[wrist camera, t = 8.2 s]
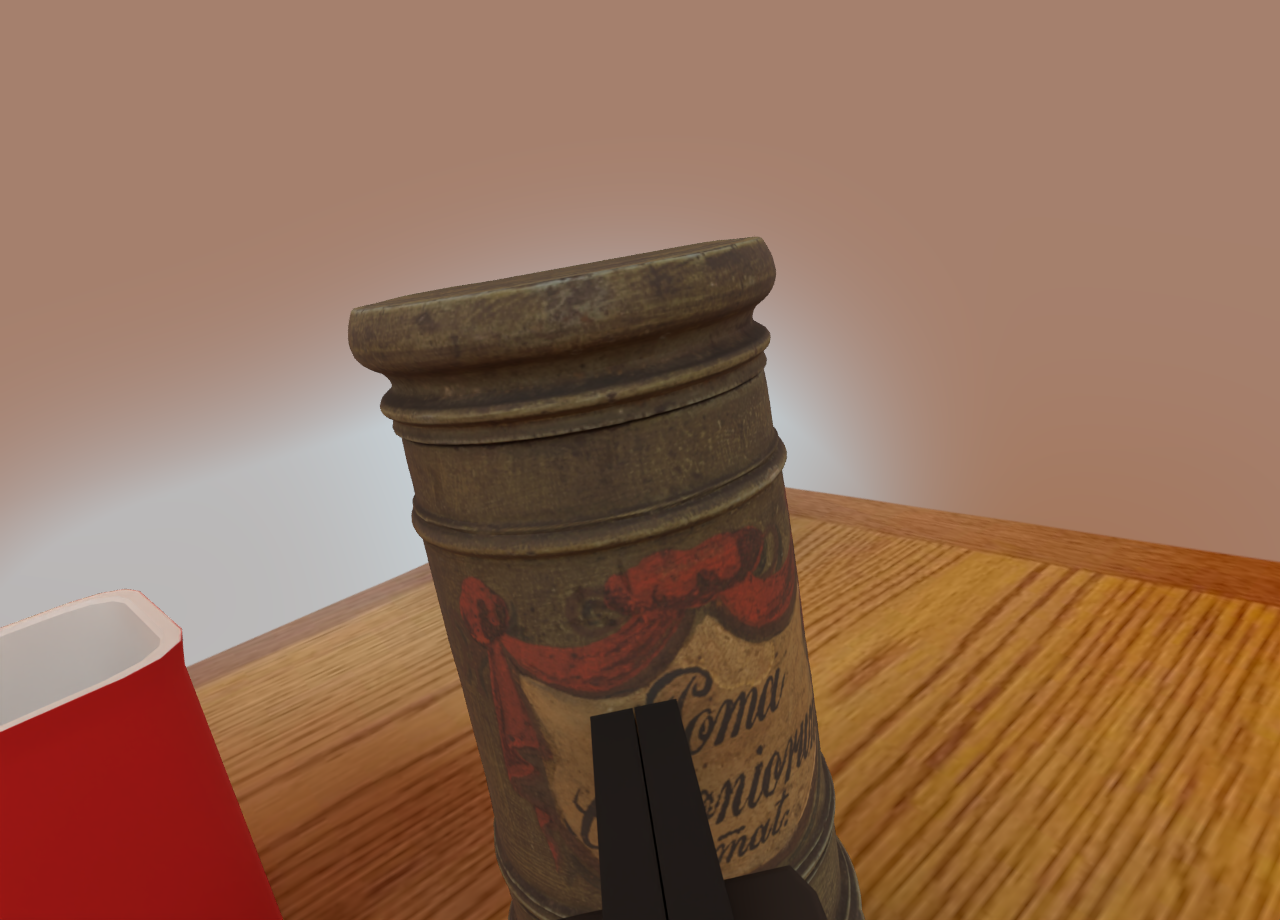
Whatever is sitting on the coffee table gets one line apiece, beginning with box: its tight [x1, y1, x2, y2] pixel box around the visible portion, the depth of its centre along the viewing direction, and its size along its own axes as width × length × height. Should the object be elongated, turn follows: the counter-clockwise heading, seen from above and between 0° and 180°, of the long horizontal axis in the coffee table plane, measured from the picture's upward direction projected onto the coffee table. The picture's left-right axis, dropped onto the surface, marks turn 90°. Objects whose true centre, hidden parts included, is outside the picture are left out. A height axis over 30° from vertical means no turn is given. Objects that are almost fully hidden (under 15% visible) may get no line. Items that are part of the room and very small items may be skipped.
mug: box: [0, 589, 283, 920], centre depth 22 cm, size 12×8×11 cm
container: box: [348, 237, 865, 920], centre depth 17 cm, size 9×9×18 cm
